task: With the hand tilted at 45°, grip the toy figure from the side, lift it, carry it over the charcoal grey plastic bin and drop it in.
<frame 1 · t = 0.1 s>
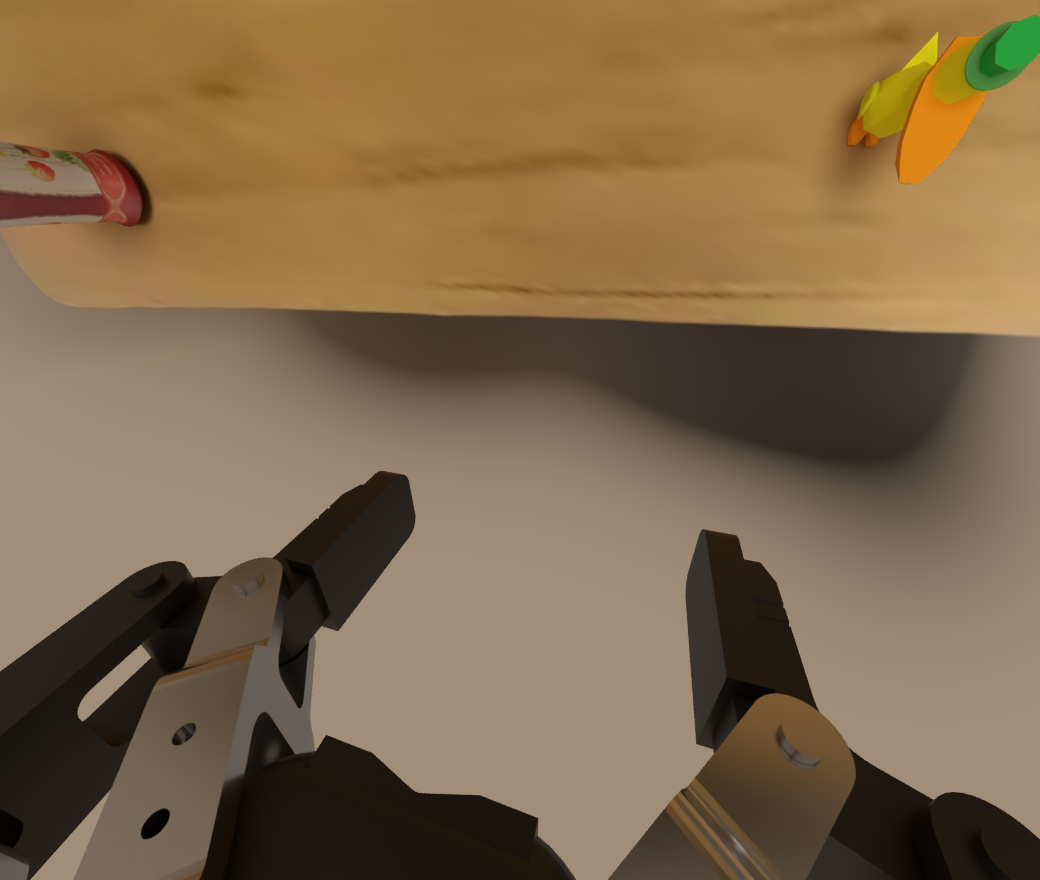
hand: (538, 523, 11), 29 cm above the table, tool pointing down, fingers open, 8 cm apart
toy figure: (863, 130, 26), on the table
liquor: (128, 190, 43), on the table
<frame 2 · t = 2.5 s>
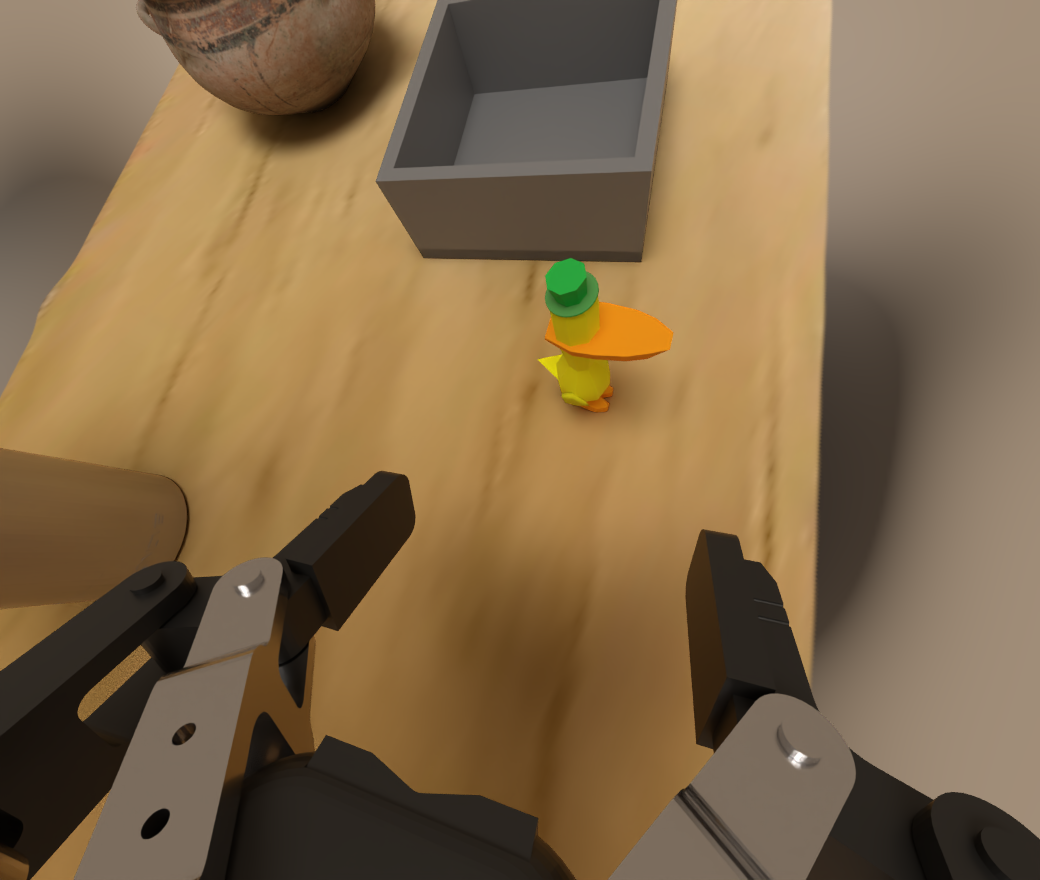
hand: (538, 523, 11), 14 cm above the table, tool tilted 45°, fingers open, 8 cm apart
cooking pot: (323, 90, 41), on the table
toy figure: (597, 400, 26), on the table
bin: (544, 169, 32), on the table
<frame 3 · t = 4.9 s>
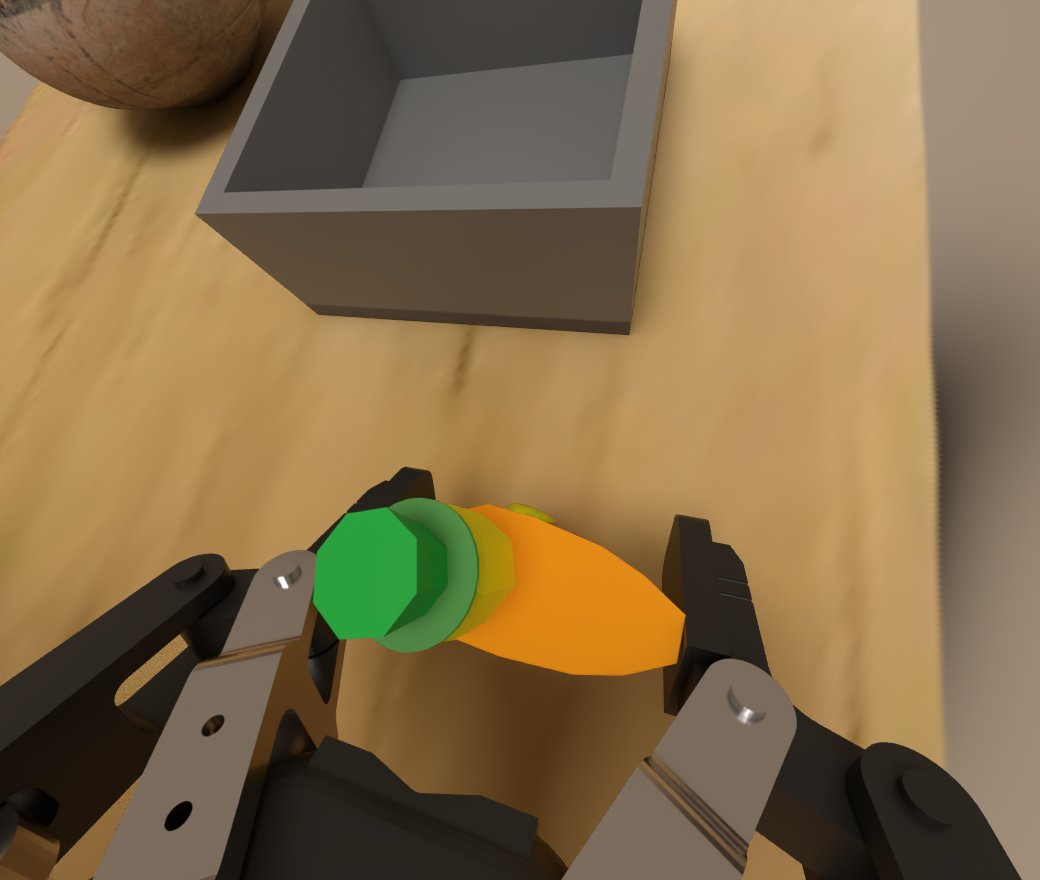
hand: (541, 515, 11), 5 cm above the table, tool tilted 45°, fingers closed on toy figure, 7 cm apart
cooking pot: (219, 78, 31), on the table
toy figure: (556, 565, 16), on the table, touching gripper
bin: (492, 187, 22), on the table
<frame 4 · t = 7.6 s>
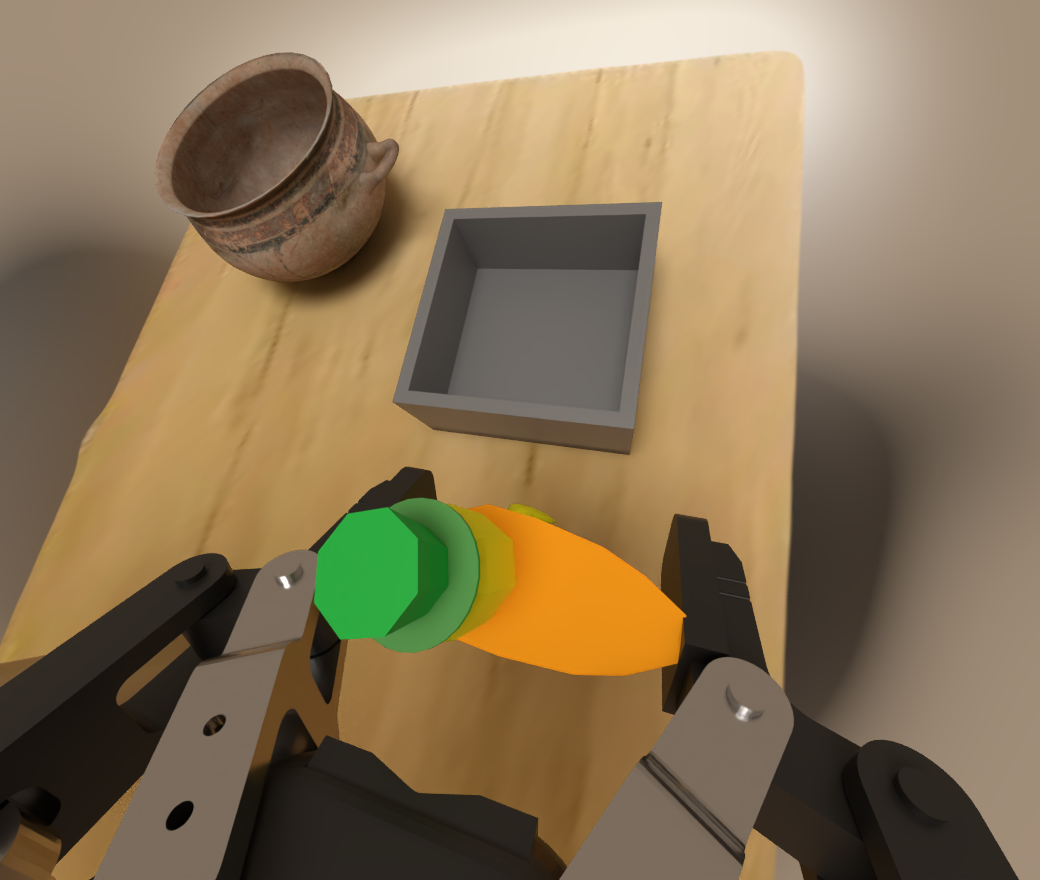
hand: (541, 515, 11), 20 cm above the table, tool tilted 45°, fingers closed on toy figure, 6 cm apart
cooking pot: (337, 240, 44), on the table
toy figure: (556, 566, 16), point 14 cm above the table, touching gripper
bin: (542, 349, 35), on the table
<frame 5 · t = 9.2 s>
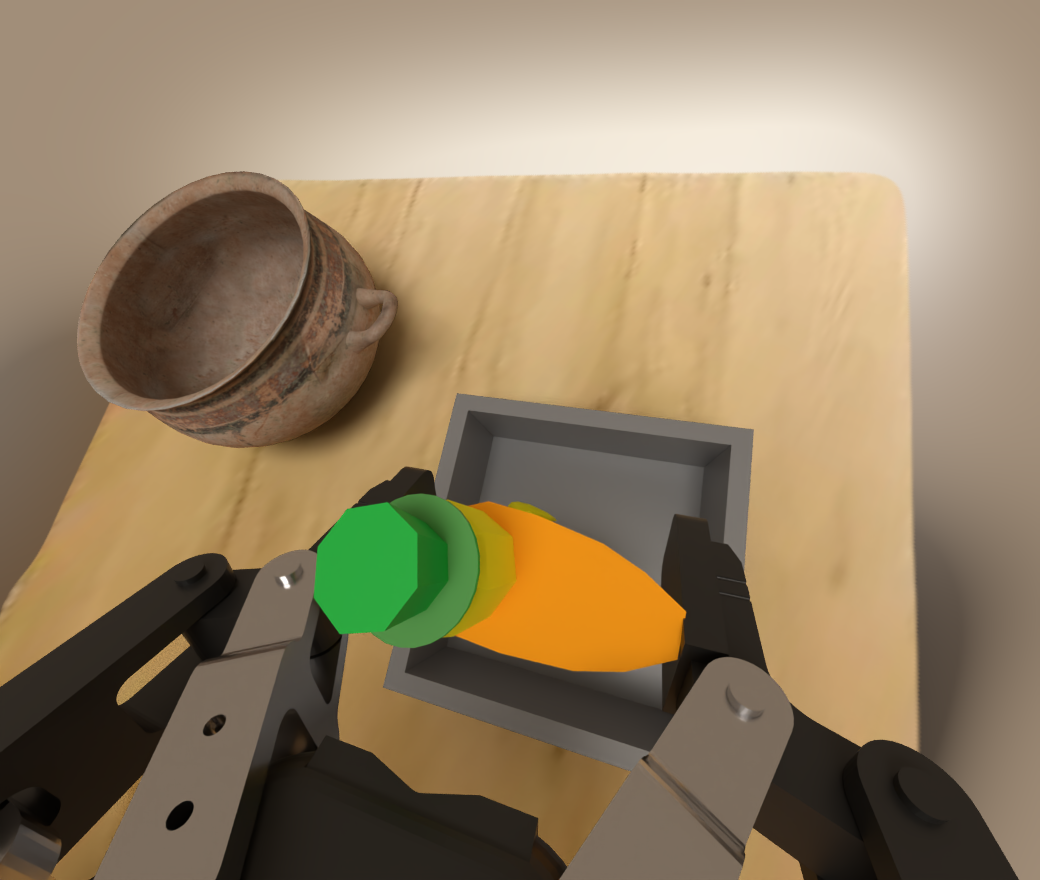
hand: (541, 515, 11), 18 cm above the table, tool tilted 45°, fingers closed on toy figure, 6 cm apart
cooking pot: (321, 366, 37), on the table
toy figure: (557, 564, 16), point 12 cm above the table, touching gripper
bin: (575, 557, 27), on the table
when the fingers open (14 cm above the table, at t = 10.3 s): toy figure drops 7 cm, resting on bin.
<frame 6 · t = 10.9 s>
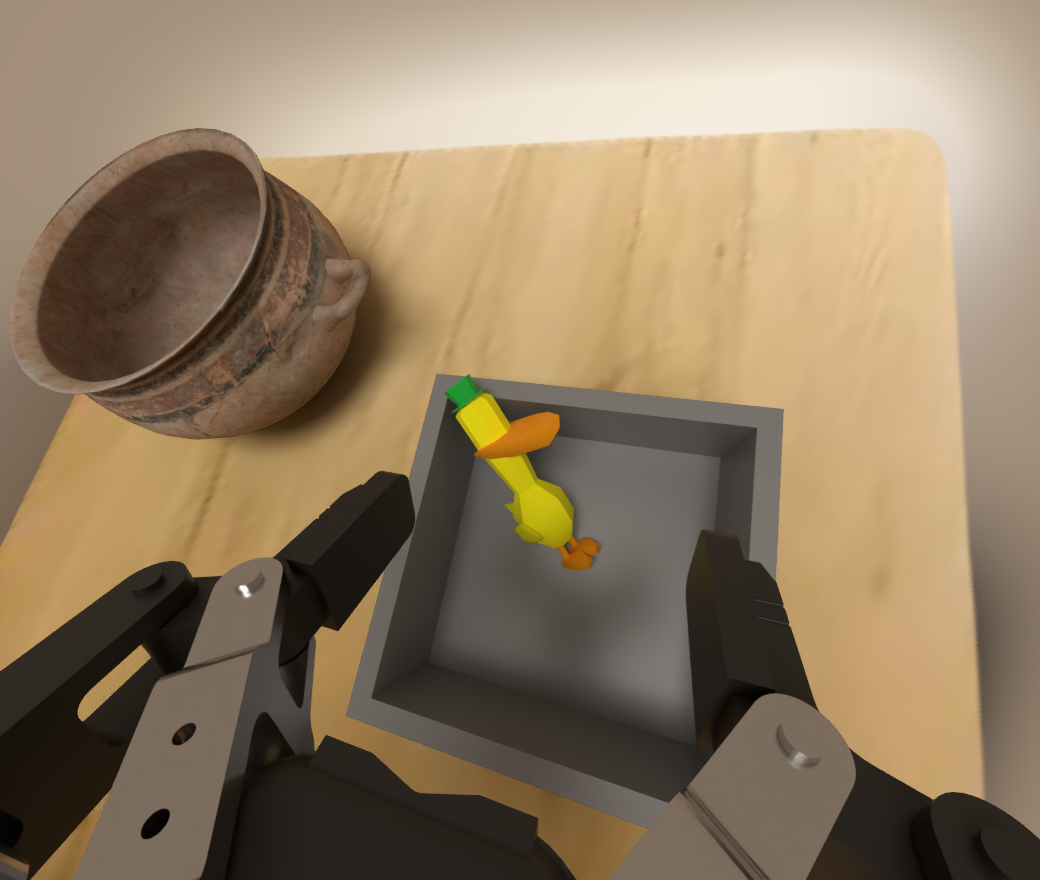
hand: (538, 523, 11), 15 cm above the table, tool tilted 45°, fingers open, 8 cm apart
cooking pot: (297, 353, 34), on the table
toy figure: (585, 561, 22), point 2 cm above the table, touching bin
bin: (574, 560, 24), on the table
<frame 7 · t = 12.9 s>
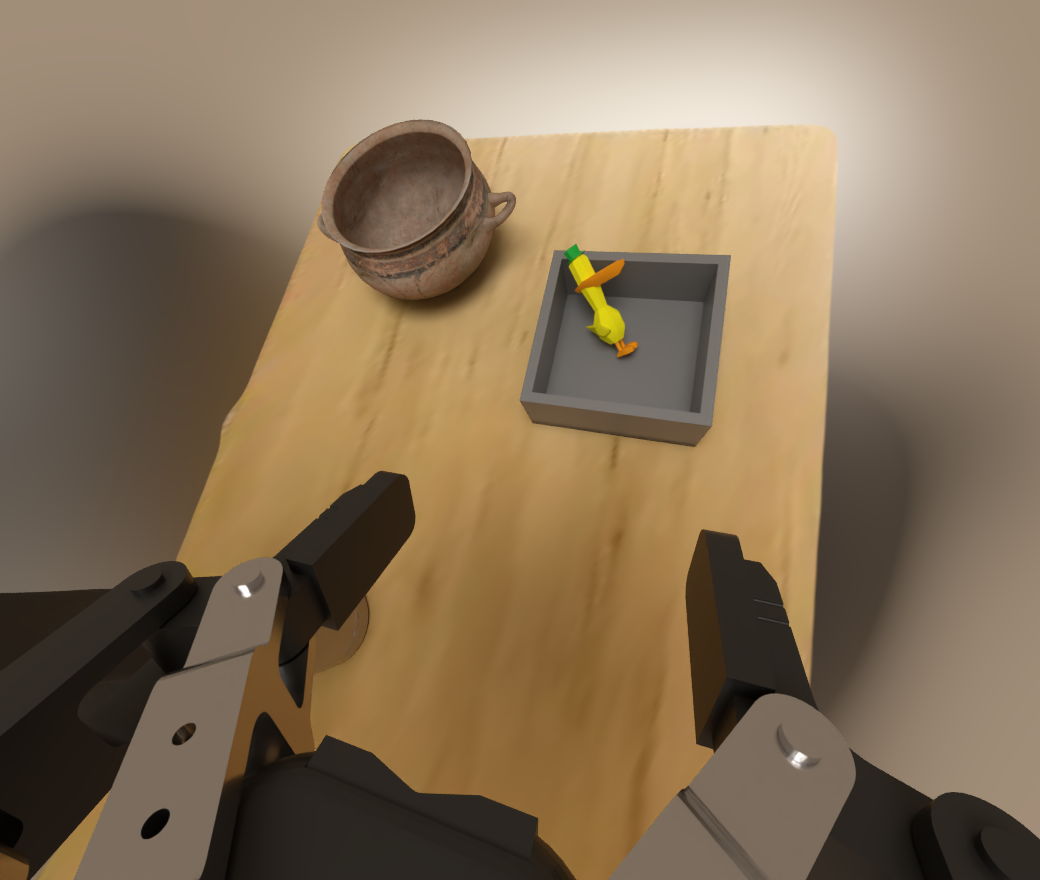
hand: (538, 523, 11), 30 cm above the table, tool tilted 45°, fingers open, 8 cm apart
cooking pot: (440, 263, 53), on the table
toy figure: (630, 352, 42), point 2 cm above the table, touching bin
bin: (622, 362, 44), on the table
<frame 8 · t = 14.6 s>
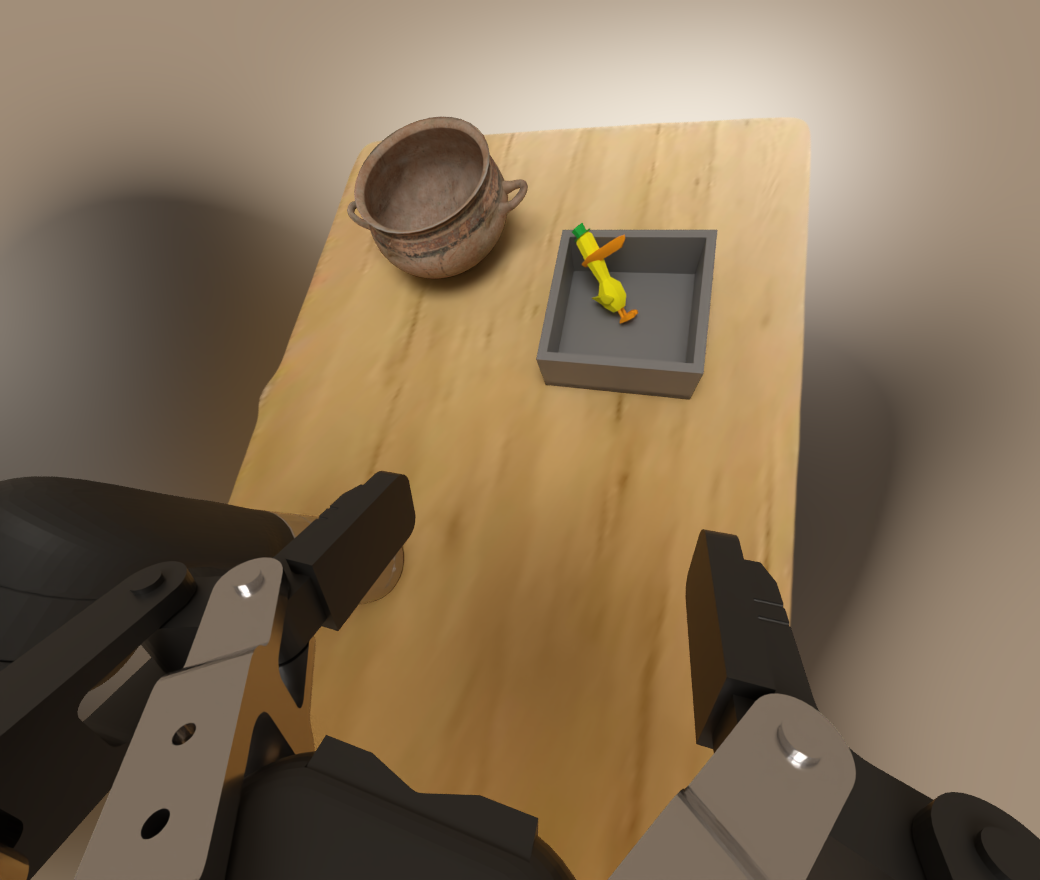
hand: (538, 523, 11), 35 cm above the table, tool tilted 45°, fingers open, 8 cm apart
cooking pot: (457, 247, 59), on the table
toy figure: (631, 319, 47), point 2 cm above the table, touching bin
bin: (623, 329, 49), on the table
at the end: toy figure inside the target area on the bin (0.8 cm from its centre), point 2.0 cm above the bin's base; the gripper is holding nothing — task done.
